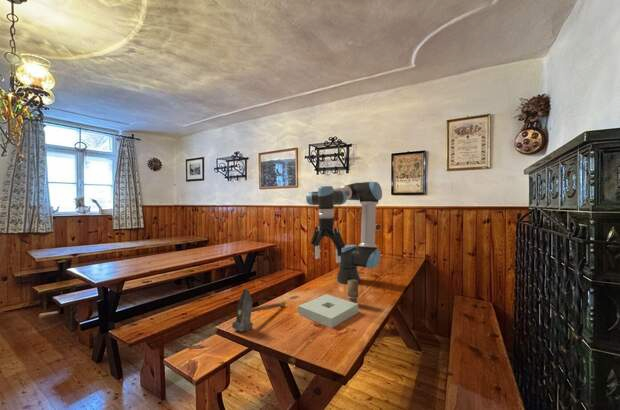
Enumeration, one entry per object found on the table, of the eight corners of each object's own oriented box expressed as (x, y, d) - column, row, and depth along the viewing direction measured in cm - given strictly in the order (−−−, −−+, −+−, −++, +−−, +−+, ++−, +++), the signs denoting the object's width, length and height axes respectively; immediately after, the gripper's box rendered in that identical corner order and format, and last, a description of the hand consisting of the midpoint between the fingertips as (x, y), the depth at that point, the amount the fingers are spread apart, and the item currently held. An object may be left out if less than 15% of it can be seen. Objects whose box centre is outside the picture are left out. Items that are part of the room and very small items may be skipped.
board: (326, 301, 135) (325, 294, 135) (358, 312, 121) (358, 303, 121) (298, 314, 121) (298, 305, 121) (331, 328, 107) (331, 318, 107)
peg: (351, 301, 134) (351, 278, 134) (360, 304, 131) (360, 280, 131) (345, 304, 131) (345, 281, 130) (354, 307, 127) (354, 283, 127)
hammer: (290, 286, 131) (247, 291, 107) (286, 319, 129) (241, 332, 104) (280, 284, 134) (237, 288, 110) (277, 316, 132) (231, 328, 107)
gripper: (303, 217, 133) (304, 258, 134) (341, 218, 115) (342, 266, 116) (313, 216, 138) (314, 255, 139) (351, 217, 121) (352, 262, 121)
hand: (327, 260), depth 127 cm, fingers open, 13 cm apart
